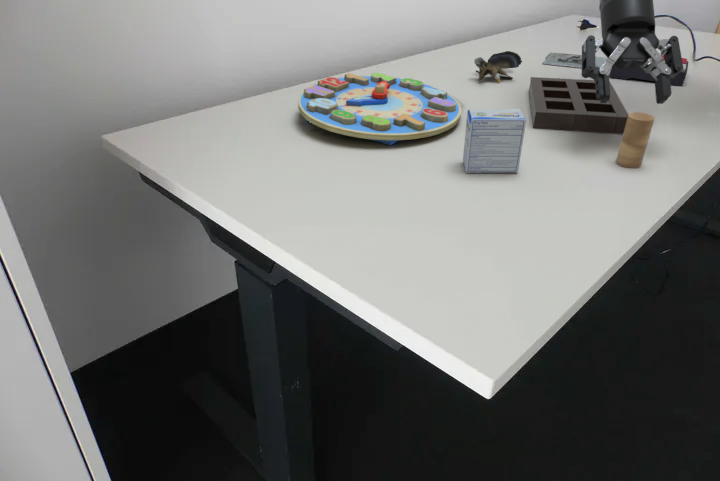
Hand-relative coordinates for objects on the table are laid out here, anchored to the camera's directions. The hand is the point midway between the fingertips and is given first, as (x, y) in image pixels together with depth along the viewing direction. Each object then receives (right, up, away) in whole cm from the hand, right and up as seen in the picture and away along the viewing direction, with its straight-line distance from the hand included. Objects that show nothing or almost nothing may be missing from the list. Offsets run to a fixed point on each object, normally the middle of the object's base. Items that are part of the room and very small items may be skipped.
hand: (634, 101), depth 82 cm
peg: (0, -9, +2) cm, 9 cm away
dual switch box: (+24, +17, +42) cm, 51 cm away
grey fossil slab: (+8, +24, +54) cm, 60 cm away
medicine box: (-22, -10, +1) cm, 24 cm away
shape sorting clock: (-38, +2, +21) cm, 43 cm away
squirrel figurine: (-11, +15, +41) cm, 45 cm away
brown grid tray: (0, +4, +23) cm, 23 cm away
